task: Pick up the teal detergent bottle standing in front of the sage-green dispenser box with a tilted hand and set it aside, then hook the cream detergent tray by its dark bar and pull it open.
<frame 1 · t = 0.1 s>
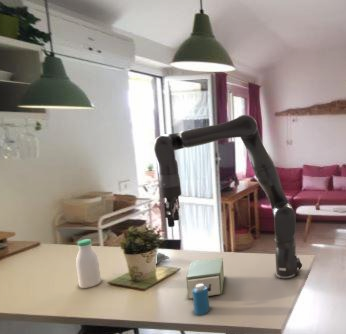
hand: (173, 223, 137), 29 cm above the table, tool pointing down, fingers open, 8 cm apart
detergent bottle: (201, 311, 126), on the table
packaged food: (155, 262, 168), on the table
milk bottle: (90, 284, 147), on the table
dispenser: (207, 287, 143), on the table
drawer: (205, 282, 138), point 5 cm above the table, slide at 0.5 cm
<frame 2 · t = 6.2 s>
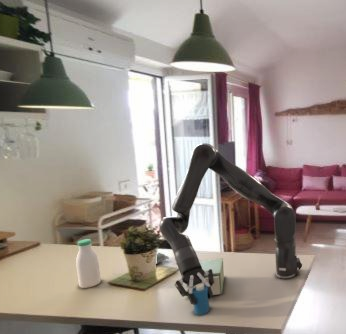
hand: (203, 300, 124), 5 cm above the table, tool tilted 45°, fingers closed on detergent bottle, 5 cm apart
detergent bottle: (201, 311, 126), on the table, touching gripper
everything else where it was.
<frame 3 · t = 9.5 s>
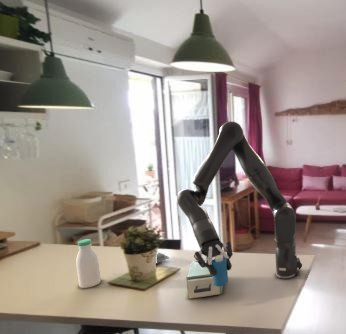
hand: (222, 272, 123), 16 cm above the table, tool tilted 45°, fingers closed on detergent bottle, 5 cm apart
detergent bottle: (220, 282, 125), point 11 cm above the table, touching gripper
everything else where it was.
when the fingers open (5 cm above the table, at t = 12.9 s): detergent bottle stays where it is, on the table.
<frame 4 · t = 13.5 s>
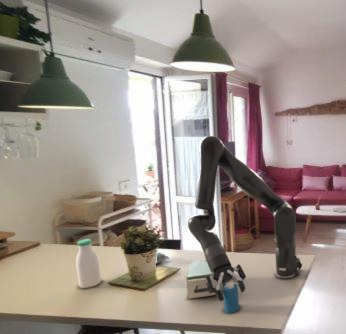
hand: (233, 295, 125), 6 cm above the table, tool tilted 45°, fingers open, 8 cm apart
detergent bottle: (231, 309, 127), on the table
everything else where it was.
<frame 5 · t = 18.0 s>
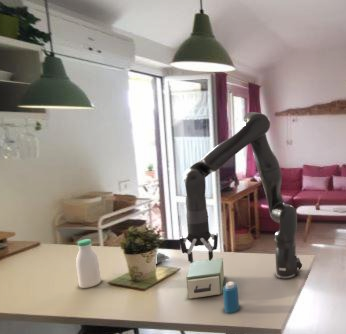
hand: (201, 260, 131), 17 cm above the table, tool pointing down, fingers open, 6 cm apart
nothing on the table moved.
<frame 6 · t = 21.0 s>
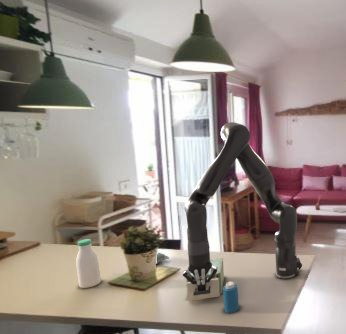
hand: (202, 292, 130), 5 cm above the table, tool pointing down, fingers closed
drawer: (204, 284, 136), point 5 cm above the table, slide at 2.3 cm, touching gripper
everything else where it was.
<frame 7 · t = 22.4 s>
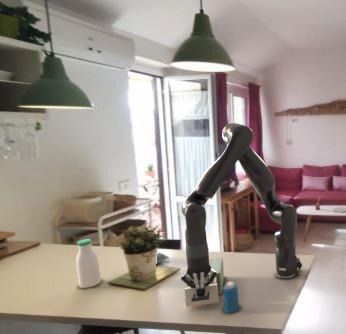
hand: (201, 296, 126), 5 cm above the table, tool pointing down, fingers closed
drawer: (203, 289, 132), point 5 cm above the table, slide at 6.7 cm
everything else where it was.
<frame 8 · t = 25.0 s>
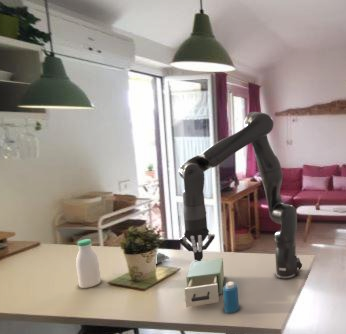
hand: (198, 260, 126), 19 cm above the table, tool pointing down, fingers closed
nothing on the table moved.
at the end: drawer slide at 6.7 cm; detergent bottle inside the target area (0.2 cm from its centre), on the table; detergent bottle tilted 0° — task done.
